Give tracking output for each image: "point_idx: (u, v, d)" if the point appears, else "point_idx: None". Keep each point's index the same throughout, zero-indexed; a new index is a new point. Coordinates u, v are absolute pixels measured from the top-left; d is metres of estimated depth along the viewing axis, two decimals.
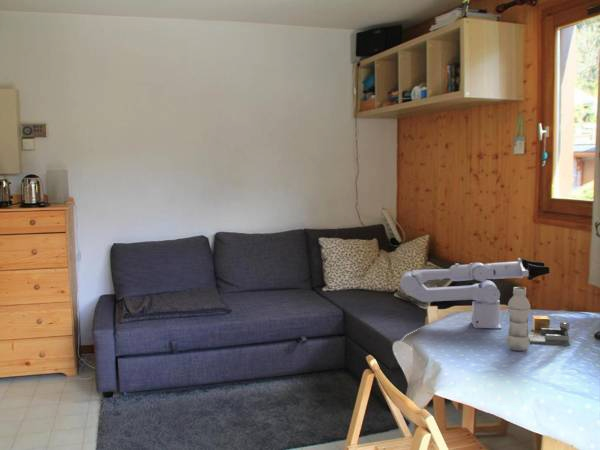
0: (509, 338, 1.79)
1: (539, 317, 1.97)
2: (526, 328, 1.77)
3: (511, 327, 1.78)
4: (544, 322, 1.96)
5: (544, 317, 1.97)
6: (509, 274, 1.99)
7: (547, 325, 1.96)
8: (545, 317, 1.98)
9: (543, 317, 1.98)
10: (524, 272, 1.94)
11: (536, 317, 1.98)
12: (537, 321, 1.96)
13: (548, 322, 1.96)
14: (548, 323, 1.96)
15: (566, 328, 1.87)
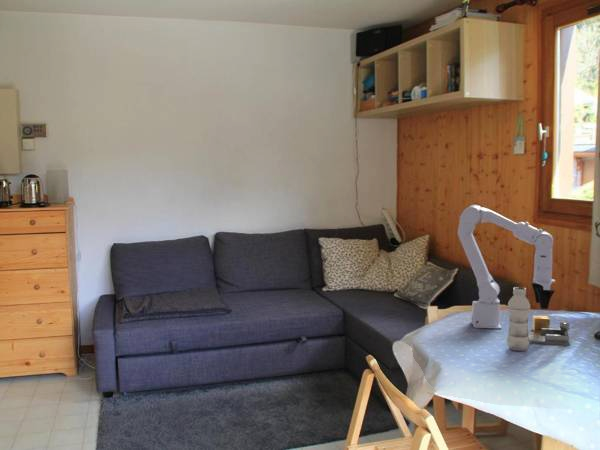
0: (509, 338, 1.79)
1: (539, 317, 1.97)
2: (526, 328, 1.77)
3: (511, 327, 1.78)
4: (544, 322, 1.96)
5: (544, 317, 1.97)
6: (541, 270, 1.93)
7: (547, 325, 1.96)
8: (545, 317, 1.98)
9: (543, 317, 1.98)
10: (548, 286, 1.89)
11: (536, 317, 1.98)
12: (537, 321, 1.96)
13: (548, 322, 1.96)
14: (548, 323, 1.96)
15: (566, 328, 1.87)
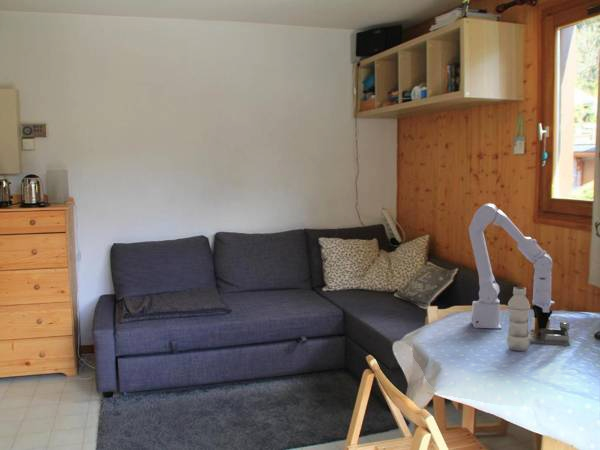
0: (509, 338, 1.79)
1: None
2: (526, 328, 1.77)
3: (511, 327, 1.78)
4: None
5: None
6: (540, 292, 1.94)
7: (547, 325, 1.96)
8: None
9: None
10: (547, 308, 1.90)
11: (536, 317, 1.98)
12: (537, 321, 1.96)
13: (548, 322, 1.96)
14: (548, 323, 1.96)
15: (566, 328, 1.87)
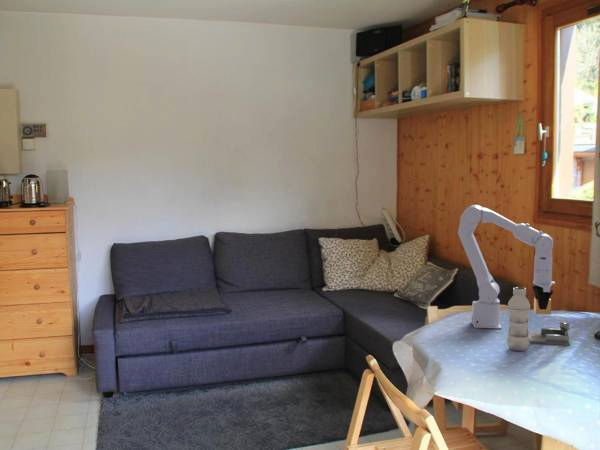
0: (509, 338, 1.79)
1: None
2: (526, 328, 1.77)
3: (511, 327, 1.78)
4: None
5: None
6: (541, 272, 1.93)
7: (548, 306, 1.95)
8: None
9: None
10: (548, 288, 1.89)
11: (537, 298, 1.97)
12: None
13: (549, 303, 1.95)
14: (549, 304, 1.95)
15: (566, 328, 1.87)
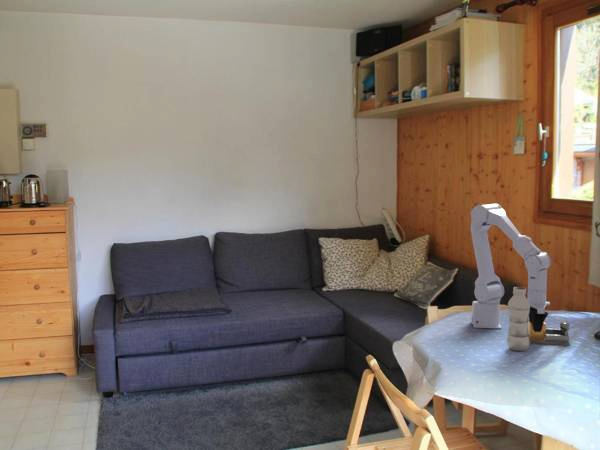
0: (509, 338, 1.79)
1: None
2: (526, 328, 1.77)
3: (511, 327, 1.78)
4: None
5: None
6: (535, 293, 1.86)
7: (543, 330, 1.88)
8: None
9: None
10: (542, 309, 1.82)
11: (531, 321, 1.90)
12: None
13: (544, 327, 1.88)
14: (544, 328, 1.88)
15: (566, 328, 1.87)
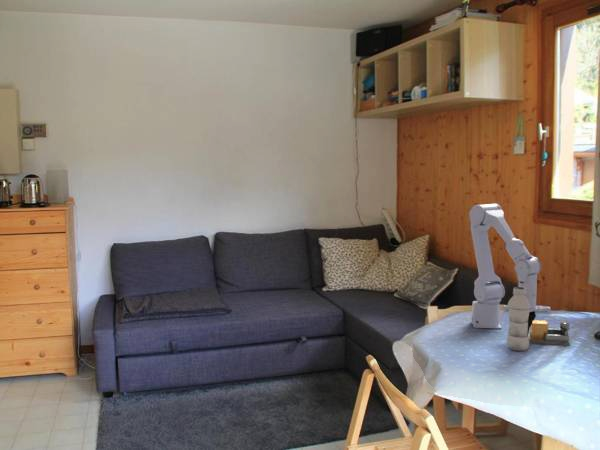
0: (509, 338, 1.79)
1: (537, 322, 1.89)
2: (526, 328, 1.77)
3: (511, 327, 1.78)
4: (542, 327, 1.88)
5: (542, 322, 1.89)
6: None
7: (545, 330, 1.88)
8: (543, 322, 1.89)
9: (541, 322, 1.89)
10: (504, 307, 1.91)
11: (534, 321, 1.90)
12: (535, 326, 1.88)
13: (546, 327, 1.87)
14: (546, 328, 1.87)
15: (566, 328, 1.87)
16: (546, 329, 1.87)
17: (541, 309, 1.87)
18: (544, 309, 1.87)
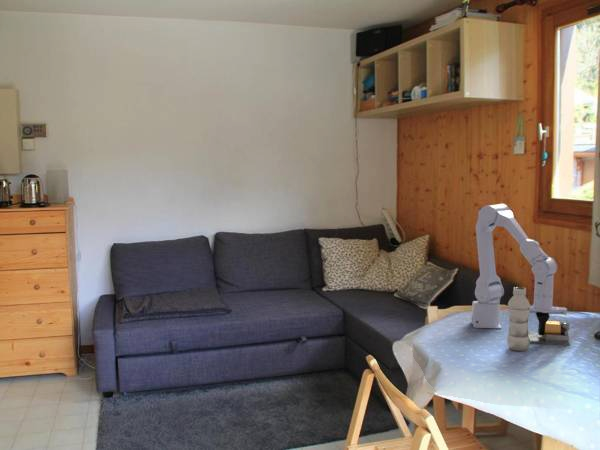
0: (509, 338, 1.79)
1: (550, 323, 1.88)
2: (526, 328, 1.77)
3: (511, 327, 1.78)
4: (554, 328, 1.87)
5: (555, 322, 1.88)
6: None
7: (558, 331, 1.87)
8: (556, 322, 1.88)
9: (554, 322, 1.88)
10: None
11: (546, 322, 1.89)
12: (547, 326, 1.87)
13: (559, 328, 1.87)
14: (559, 329, 1.87)
15: (566, 328, 1.87)
16: (559, 330, 1.87)
17: (557, 310, 1.86)
18: (560, 310, 1.86)
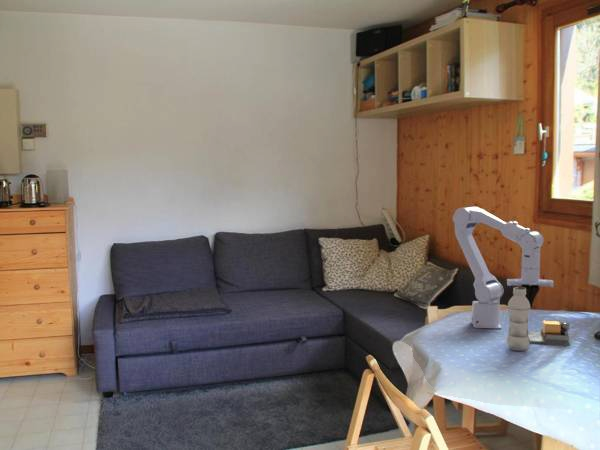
0: (509, 338, 1.79)
1: (550, 323, 1.88)
2: (526, 328, 1.77)
3: (511, 327, 1.78)
4: (554, 328, 1.87)
5: (555, 322, 1.88)
6: None
7: (558, 331, 1.87)
8: (556, 322, 1.89)
9: (554, 322, 1.88)
10: (507, 281, 1.93)
11: (546, 322, 1.89)
12: (547, 326, 1.87)
13: (559, 328, 1.87)
14: (559, 329, 1.87)
15: (566, 328, 1.87)
16: (559, 330, 1.87)
17: (544, 282, 1.90)
18: (547, 282, 1.90)
